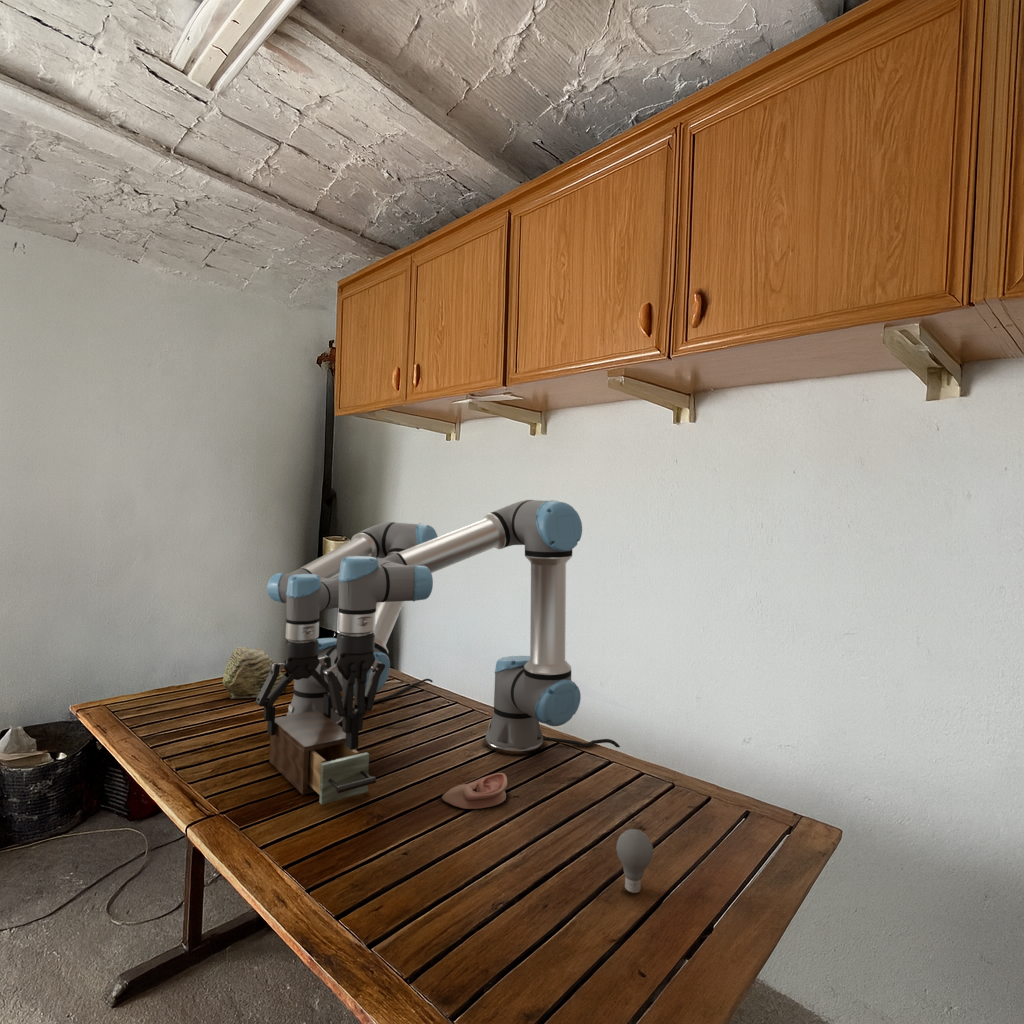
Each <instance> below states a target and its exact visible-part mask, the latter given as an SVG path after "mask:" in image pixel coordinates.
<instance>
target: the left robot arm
mask: <svg viewBox="0 0 1024 1024" xmlns="http://www.w3.org/2000/svg"><path fill="white" fill-rule="evenodd" d="M437 537H439V536H438V532H437V531H436V530H435V528H434V527H433V526H432V525H430V524H424V523H423V524H422V523H420V522H419V523H408V522H395V521H393V522H392V521H386V522H382V523H377V524H375V525H373V526H370V527H368V528H365V529H363V530H361V531H359V532H357V533H355V534H353V536H352V537H351V539H350V540H349V541H348V542H346V543H344V544H342V545H340V546H338V547H336V548H335V549H332V550H331V551H329V552H327V553H325V554H324V555H322V556H320V557H318V558H316V559H314V560H312V561H310V562H308V563H307V564H305V565H303V566H301V567H300V568H297V569H296V570H293V571H292V572H289V573H287V572H278V573H274V574H273V575H272V576H271V577H270V578H269V580H268V582H267V586H266V589H267V595H268V596H269V598H270V599H271V600H272V601H274V602H279V603H282V604H286V619H285V639H286V641H285V642H284V645H285V647H284V648H285V649H284V662H280V663H279V662H278V663H277V662H275V661H274V662H273V663H271V668H270V673H269V675H268V677H267V679H266V681H265V683H264V685H263V687H262V689H261V691H260V693H259V695H258V697H256V699H255V704H257V706H259V707H263V719H264V721H266V722H267V727H266V728H267V729H266V732H267V734H269V736H270V735H271V736H272V735H275V718H276V706H275V705H274V704H275V702H276V701H277V700H278V699H279V697H280V696H281V695H282V694H283V693H284V692H285V691H286V690H285V688H286V689H287V687H288V686H289V685H290V684H291V683H292V682H293V695H292V696H293V697H292V699H291V702H290V703H289V705H288V707H287V710H288V711H287V713H286V715H285V716H288V715H294V714H299V713H304V712H310V711H315V710H318V711H319V712H321V713H322V714H324V715H325V716H326V717H328V718H329V719H331V720H332V721H333V722H335V723H336V724H338V725H339V726H341V725H342V723H343V717H340V716H339V715H337V714H336V713H334V711H333V706H332V701H331V696H330V691H329V686H328V681H327V679H326V677H325V676H324V674H323V670H324V669H329V668H330V667H331V666H333V665H334V661H335V659H336V656H337V637H322V638H319V636H320V612H323V611H329V610H331V609H333V610H334V609H338V608H339V573H340V565H341V561H342V559H343V558H345V557H349V556H368V557H375V558H385V557H387V556H390V555H393V554H396V553H398V552H401V551H403V550H406V549H408V548H411V547H414V546H416V545H419V544H421V543H424V542H427V541H429V540H432V539H435V538H437ZM404 604H405V601H395V602H377V603H376V616H375V630H374V631H373V633H374V634H375V645H374V651H373V653H374V656H375V660H376V661H379V662H381V663H383V664H385V668H384V670H383V672H382V673H381V675H380V679H379V683H378V687H377V691H376V693H378V692H379V691H380V690H381V689H382V688H383V687H384V686H385V684H386V682H387V680H388V678H389V676H390V672H391V669H390V667H391V661H390V658H389V656H388V655H389V649H388V647H387V643H388V641H389V638H390V636H391V634H392V631H393V630H394V627H395V625H396V621H397V620H398V618H399V615H400V613H401V610H402V607H403V605H404ZM283 669H284V670H285V672H284V673H282V670H283ZM370 671H371V668H370V670H369V671H368V673H367V681H366V683H365V690H366V686H367V682H368V678H369V674H370ZM280 672H281V673H282V675H283V676H282V678H281V680H280V681H279V682H278V684H277V685H276V686H275V688H274V689H273V690H272V691H271V689H272V687H273V685H274V683H275V681H276V679H277V677H278V675H279V673H280ZM337 673H338V676H337V677H336V678H337V680H338V683H339V688H340V693H343V681H342V675H341V673H340V672H339V671H338V670H337ZM424 682H429V683H433V682H434V681H433V680H432V679H430V678H424V679H422V680H419V681H417V682H413V683H411V684H409V685H408V686H406V687H404V688H402V689H400V690H398V691H396V692H394V693H391V694H389V695H387V696H384V697H381V698H377V699H374V703H373V704H376V703H378V702H382V701H385V700H388V699H390V698H392V697H395V696H396V695H399V694H400V693H403V692H404V691H406V690H409V689H410V688H412V687H414V686H417V685H420V684H423V683H424ZM354 685H355V684H354ZM284 690H285V691H284ZM270 691H271V693H270ZM283 691H284V692H283ZM282 692H283V693H282ZM353 695H354V691H353ZM353 710H354V706H353Z"/></svg>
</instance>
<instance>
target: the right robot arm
mask: <svg viewBox="0 0 1024 1024" xmlns="http://www.w3.org/2000/svg"><path fill="white" fill-rule="evenodd" d="M582 534H583V523H582V519H581V517H580V514H579V512H578V511H576V509H575V508H574V507H573V506H572V505H571V504H569V503H568V502H563V501H559V500H554V499H550V500H541V499H540V500H539V499H538V500H537V499H536V500H535V499H525V500H519V501H517V502H514V503H512V504H509V505H506V506H504V507H501V508H499V509H497V510H494V511H491V512H488V513H486V514H485V515H484V517H483V519H481V520H478V521H476V522H474V523H471V524H469V525H466V526H463V527H461V528H458V529H455V530H453V531H450V532H447V533H445V534H442V535H440V536H438V537H437V538H435V539H432V540H429V541H427V542H424V543H421V544H419V545H416V546H414V547H411V548H408V549H406V550H403V551H401V552H398V553H396V554H393V555H390V556H387V557H385V558H375V557H368V556H349V557H345V558H343V559H342V561H341V565H340V573H339V608H337V609H338V610H337V625H336V626H337V627H336V630H337V632H338V633H337V635H336V638H337V656H336V659H335V661H334V665H333V666H331V667H330V668H329V669H324V670H323V674H324V676H325V677H326V679H327V681H328V686H329V691H330V696H331V701H332V706H333V711H334V713H336V714H337V715H339V716H340V717H343V722H342V723H341V727H342V730H343V732H345V733H346V743H345V746H346V747H348V748H349V749H350V750H354V749H355V750H357V749H359V733H360V731H362V729H363V722H364V717H365V716H366V715H367V712H370V711H373V707H374V704H375V703H374V700H376V694H377V692H376V691H377V687H378V683H379V679H380V675H381V673H382V672H383V670H384V668H385V664H383V663H381V662H379V661H376V660H375V656H374V653H373V651H374V645H375V634H374V633H373V631H374V630H375V616H376V603H377V602H395V601H404V602H416V601H424V600H427V599H428V598H429V597H430V596H431V594H432V591H433V586H434V580H433V573H436V572H438V571H440V570H443V569H445V568H447V567H450V566H452V565H455V564H458V563H460V562H462V561H465V560H467V559H470V558H473V557H476V556H477V555H480V554H482V553H485V552H487V551H489V550H492V549H494V548H495V549H496V550H503V549H505V548H508V547H512V546H524V557H525V558H526V559H527V560H528V561H529V563H530V632H529V633H530V634H529V635H530V638H529V639H530V640H529V641H530V646H529V647H530V648H529V649H530V650H529V653H530V655H512V656H511V655H510V656H509V655H507V656H504V657H500V658H499V659H497V660H496V661H495V669H494V691H493V692H494V694H493V713H492V716H491V719H490V721H489V723H488V728H487V731H486V733H485V745H486V747H487V748H488V749H490V750H492V751H494V752H496V753H500V754H505V755H511V756H516V755H517V756H521V755H522V756H523V755H531V754H534V753H537V752H539V751H540V750H541V749H542V748H543V747H544V742H545V741H546V742H552V743H553V742H554V743H559V744H569V745H575V746H580V747H583V748H590V747H592V746H593V745H597V744H598V745H599V744H611V745H612V746H614V747H615V748H621V745H620V744H619V743H618V742H617V741H615V740H613V739H610V738H601V739H593V740H590V741H588V742H582V741H578V740H573V739H565V738H557V737H550V736H544V735H543V731H542V728H541V724H545V725H547V726H549V727H560V726H562V725H565V724H566V723H568V722H569V721H570V720H572V719H573V717H574V715H576V713H577V711H578V709H579V707H580V704H581V700H582V699H581V697H582V696H581V695H582V694H581V690H580V688H579V686H578V685H577V684H576V683H575V681H573V680H572V665H571V664H570V663H569V662H568V661H567V660H566V626H567V624H566V622H567V621H566V620H567V619H566V617H567V616H566V615H567V612H566V610H567V563H568V562H569V561H570V560H571V559H572V558H573V549H574V548H576V547H577V545H578V543H579V542H580V541H581V539H582ZM370 668H371V671H370V674H369V678H368V682H367V686H366V690H365V683H366V681H367V673H368V671H369V670H370ZM337 670H338V671H339V672H340V673H341V675H342V681H343V692H340V688H339V683H338V680H337V678H336V677H337V676H338V673H337ZM354 684H355V685H354ZM353 691H354V694H353ZM341 693H342V694H341ZM353 707H354V709H353Z"/></svg>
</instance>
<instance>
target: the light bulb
mask: <svg viewBox="0 0 1024 1024" xmlns="http://www.w3.org/2000/svg"><path fill="white" fill-rule="evenodd" d="M615 849H616V854H617V857H618V859H619V861H620V863H621V865H622V867H623V873H624V874H623V875H624V876H625V878H624V888H625V890H627V891H628V892H630V893H634V894H635V893H639V892H640V891H641V889H642V887H641V886H642V879H643V877H644V875H645V871H646V868H647V867H648V866H649V864H650V863H651V861H652V859H653V855H654V847H653V843H652V841H651V838H649V836H648V835H647V834H646V833H645V832H643V831H642V830H641V829H636V828H629V829H627V830H625V831H623V832H622V833H621V834H620V835H619V837H618V839H617V841H616V847H615Z"/></svg>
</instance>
